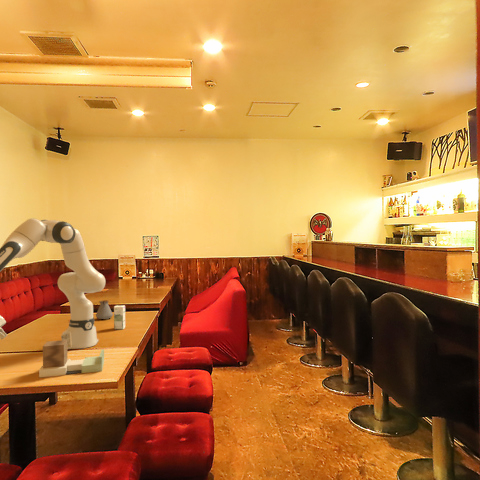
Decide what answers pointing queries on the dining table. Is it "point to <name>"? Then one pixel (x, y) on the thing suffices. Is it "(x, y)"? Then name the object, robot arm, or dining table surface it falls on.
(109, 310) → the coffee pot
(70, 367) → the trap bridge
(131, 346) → the dining table surface
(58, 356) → the walnut block
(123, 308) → the syrup box
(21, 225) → the robot arm
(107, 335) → the dining table surface
